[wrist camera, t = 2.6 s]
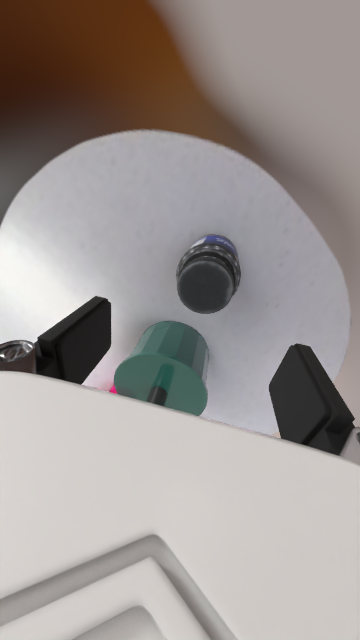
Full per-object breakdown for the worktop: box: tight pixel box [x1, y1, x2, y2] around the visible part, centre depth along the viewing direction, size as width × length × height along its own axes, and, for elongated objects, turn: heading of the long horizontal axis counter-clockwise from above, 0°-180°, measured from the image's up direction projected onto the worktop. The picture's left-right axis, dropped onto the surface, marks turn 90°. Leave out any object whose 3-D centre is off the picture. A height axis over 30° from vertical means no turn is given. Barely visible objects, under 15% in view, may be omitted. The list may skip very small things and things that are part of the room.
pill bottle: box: [176, 234, 241, 314], centre depth 22 cm, size 6×6×11 cm
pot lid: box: [114, 352, 208, 416], centre depth 26 cm, size 13×13×6 cm
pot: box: [130, 321, 209, 385], centre depth 31 cm, size 12×12×8 cm
